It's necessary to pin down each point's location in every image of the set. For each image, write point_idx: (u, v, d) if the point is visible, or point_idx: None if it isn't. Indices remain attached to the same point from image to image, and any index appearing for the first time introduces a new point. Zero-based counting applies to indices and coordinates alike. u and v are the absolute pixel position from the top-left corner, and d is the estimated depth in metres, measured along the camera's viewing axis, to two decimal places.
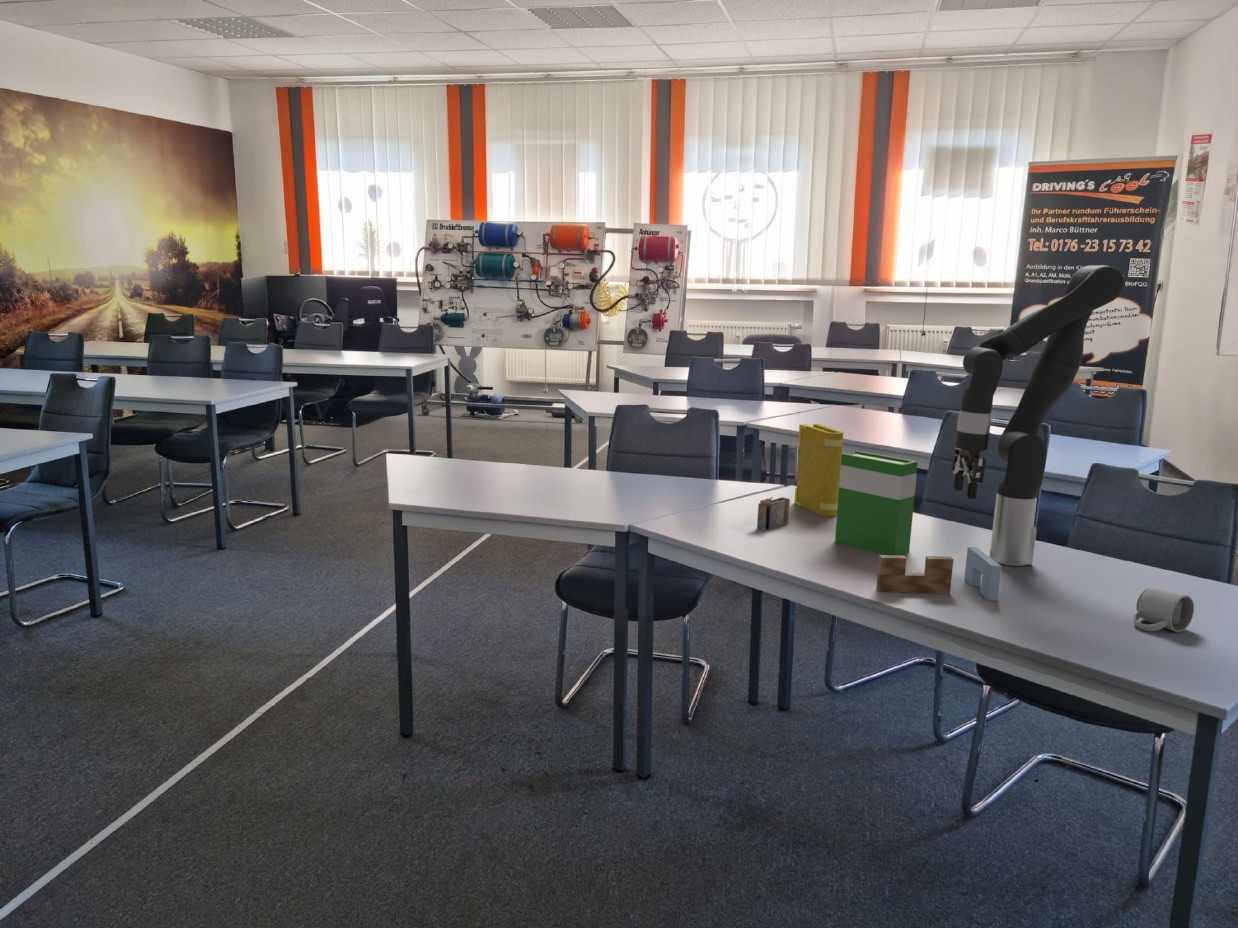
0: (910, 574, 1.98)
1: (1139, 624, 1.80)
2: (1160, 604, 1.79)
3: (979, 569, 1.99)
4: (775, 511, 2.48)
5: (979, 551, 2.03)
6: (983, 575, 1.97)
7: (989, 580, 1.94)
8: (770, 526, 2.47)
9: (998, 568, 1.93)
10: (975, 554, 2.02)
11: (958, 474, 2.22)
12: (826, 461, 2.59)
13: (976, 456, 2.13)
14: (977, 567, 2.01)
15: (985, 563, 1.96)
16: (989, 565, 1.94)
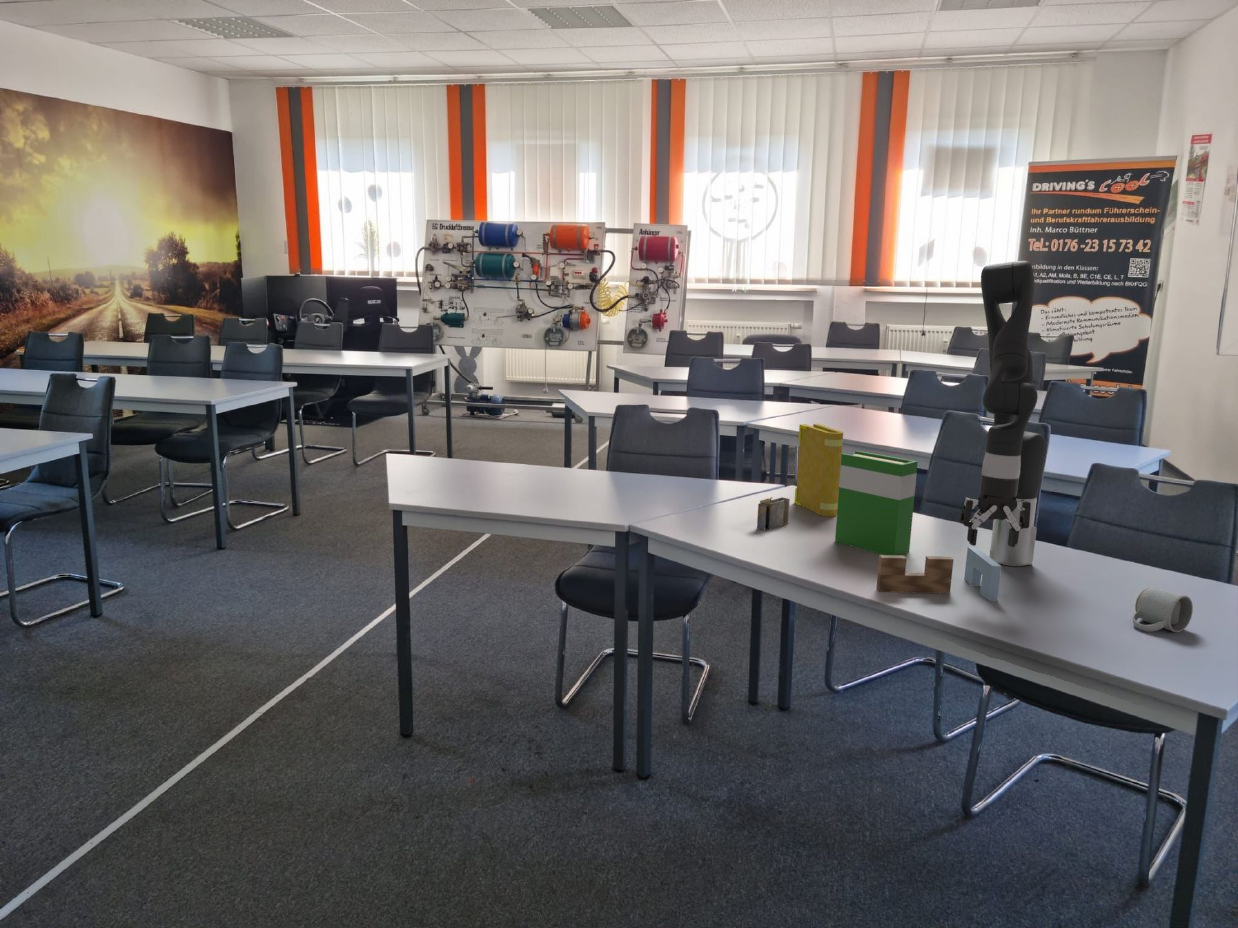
0: (910, 574, 1.98)
1: (1138, 624, 1.79)
2: (1159, 604, 1.79)
3: (979, 569, 1.99)
4: (775, 511, 2.48)
5: (979, 551, 2.03)
6: (983, 575, 1.97)
7: (989, 580, 1.94)
8: (770, 526, 2.47)
9: (998, 568, 1.93)
10: (975, 554, 2.02)
11: None
12: (826, 461, 2.59)
13: None
14: (977, 567, 2.01)
15: (985, 563, 1.96)
16: (989, 565, 1.94)
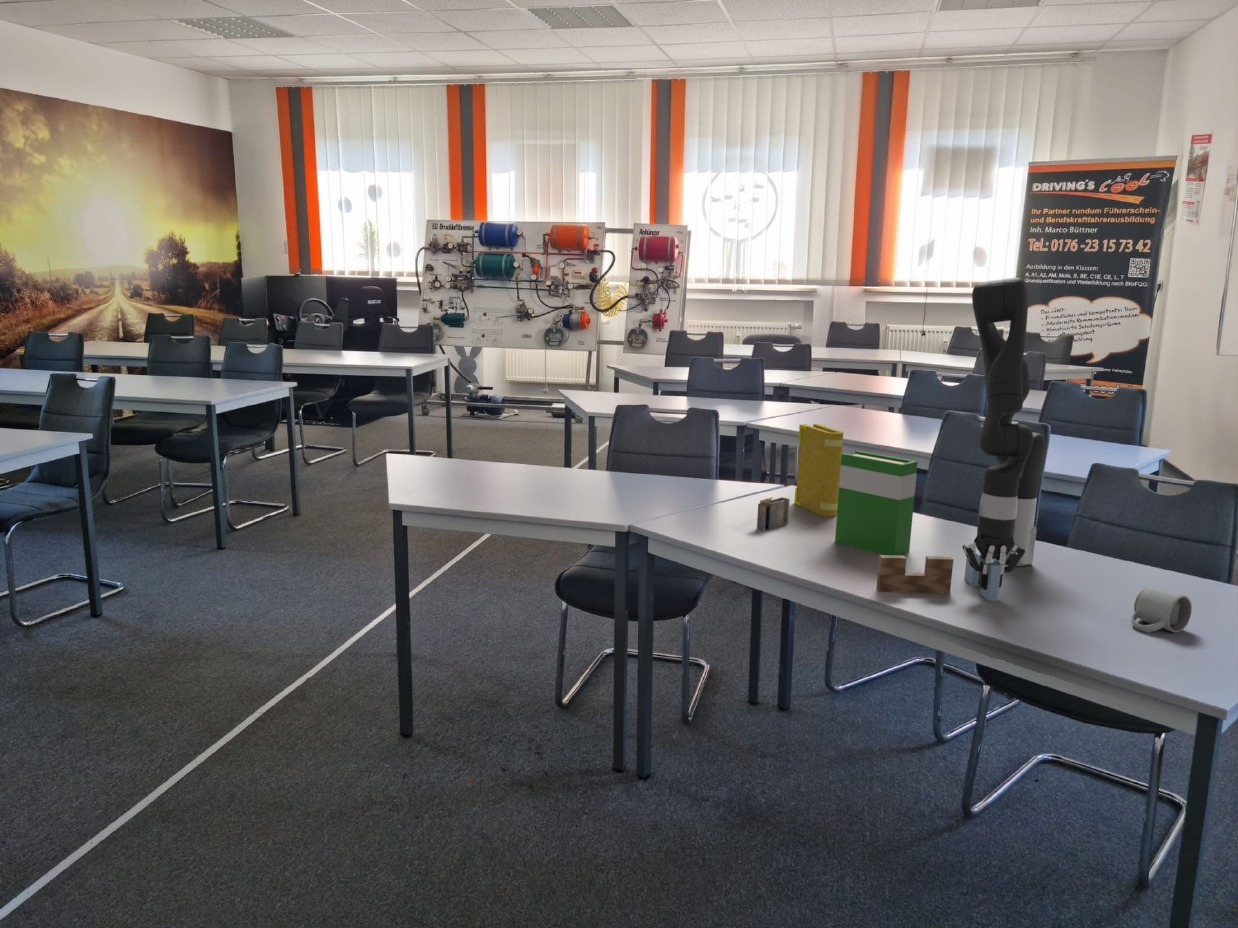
0: (910, 574, 1.98)
1: (1137, 625, 1.79)
2: (1158, 604, 1.79)
3: None
4: (775, 511, 2.48)
5: None
6: None
7: (989, 580, 1.94)
8: (770, 526, 2.47)
9: (998, 568, 1.93)
10: (975, 554, 2.02)
11: None
12: (826, 461, 2.59)
13: None
14: None
15: None
16: (989, 565, 1.94)
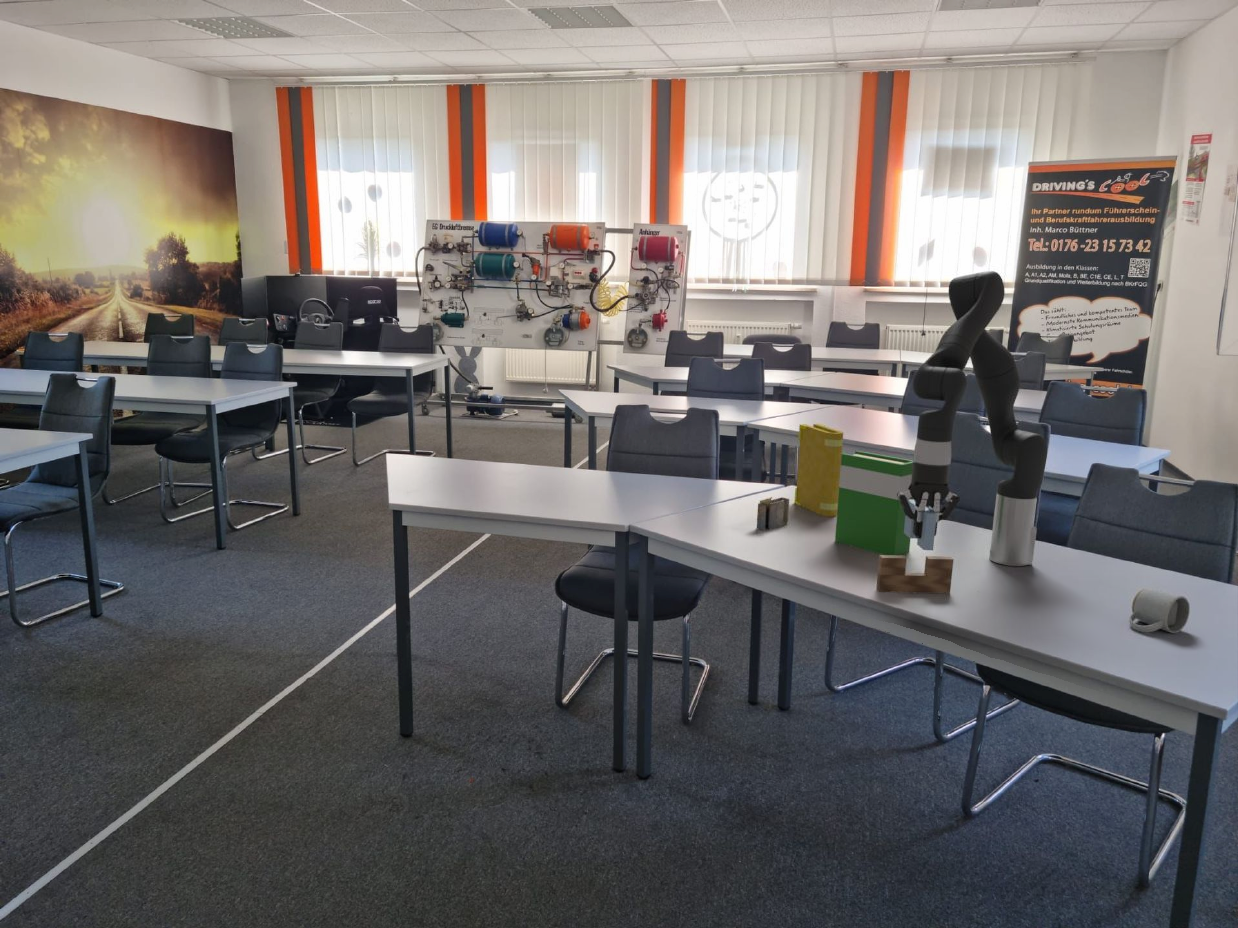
0: (910, 574, 1.98)
1: (1134, 625, 1.79)
2: (1155, 605, 1.78)
3: None
4: (775, 511, 2.48)
5: None
6: None
7: (924, 529, 1.89)
8: (770, 526, 2.47)
9: (933, 516, 1.88)
10: (913, 505, 1.97)
11: None
12: (826, 461, 2.59)
13: None
14: None
15: None
16: (924, 514, 1.90)
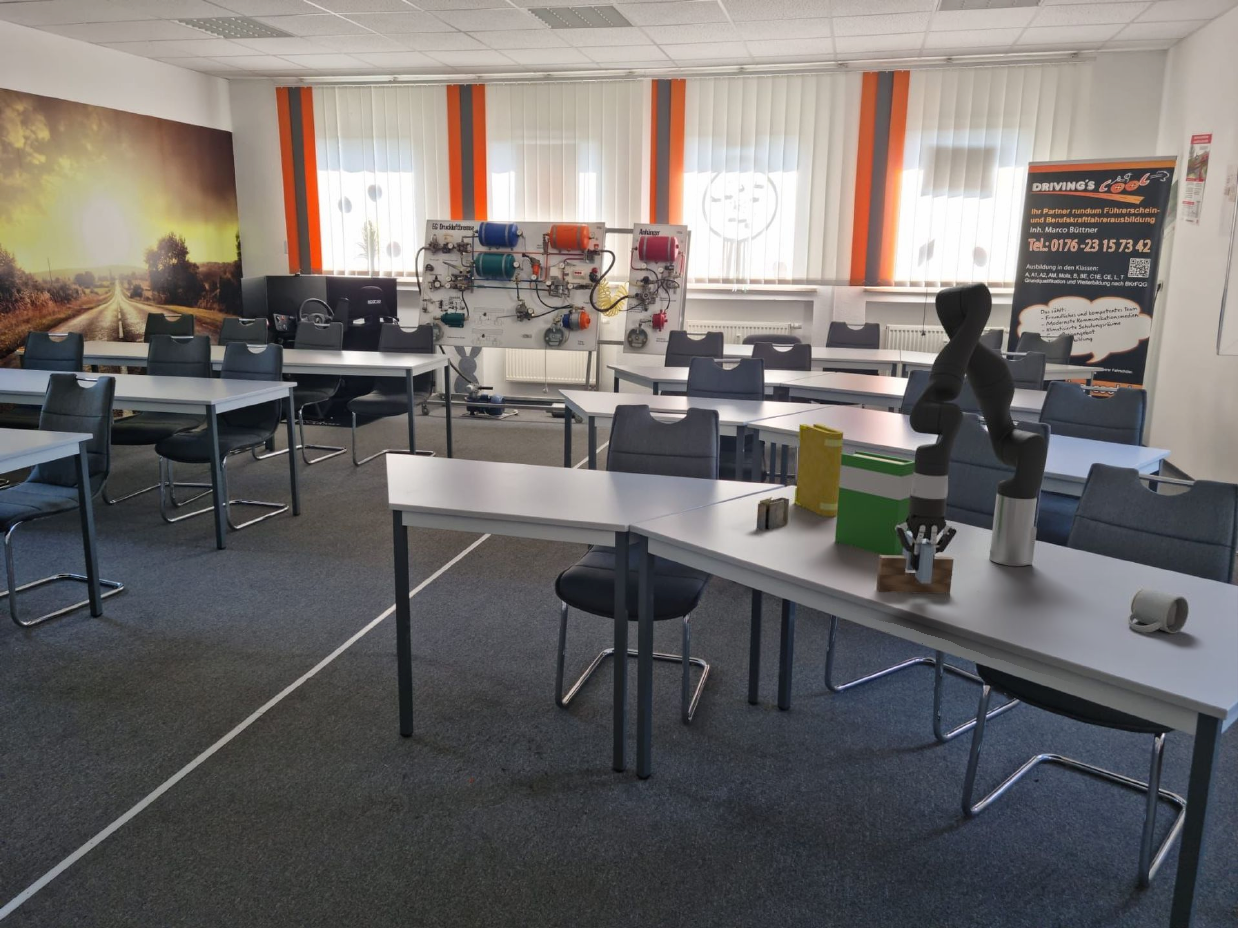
0: (910, 574, 1.98)
1: (1133, 625, 1.79)
2: (1154, 605, 1.78)
3: None
4: (774, 511, 2.48)
5: None
6: None
7: (922, 562, 1.90)
8: (770, 526, 2.47)
9: (931, 550, 1.89)
10: (910, 537, 1.98)
11: None
12: (826, 461, 2.59)
13: None
14: None
15: None
16: (922, 547, 1.91)
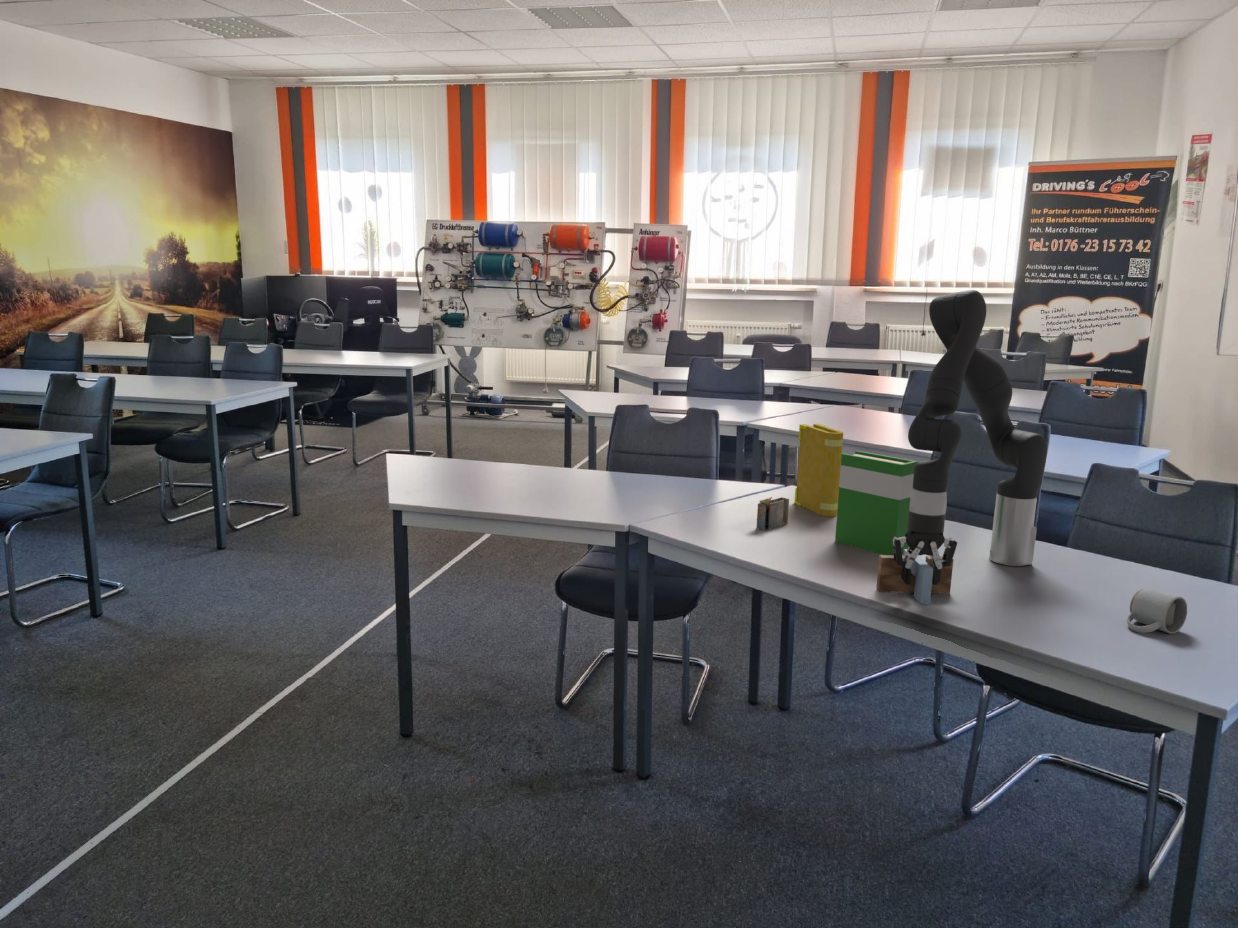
0: None
1: (1132, 626, 1.79)
2: (1153, 605, 1.78)
3: (913, 572, 1.96)
4: (774, 511, 2.48)
5: None
6: (916, 578, 1.94)
7: (921, 583, 1.91)
8: (769, 526, 2.47)
9: (930, 571, 1.90)
10: None
11: None
12: (826, 461, 2.59)
13: None
14: (911, 570, 1.98)
15: (918, 566, 1.93)
16: (921, 568, 1.91)
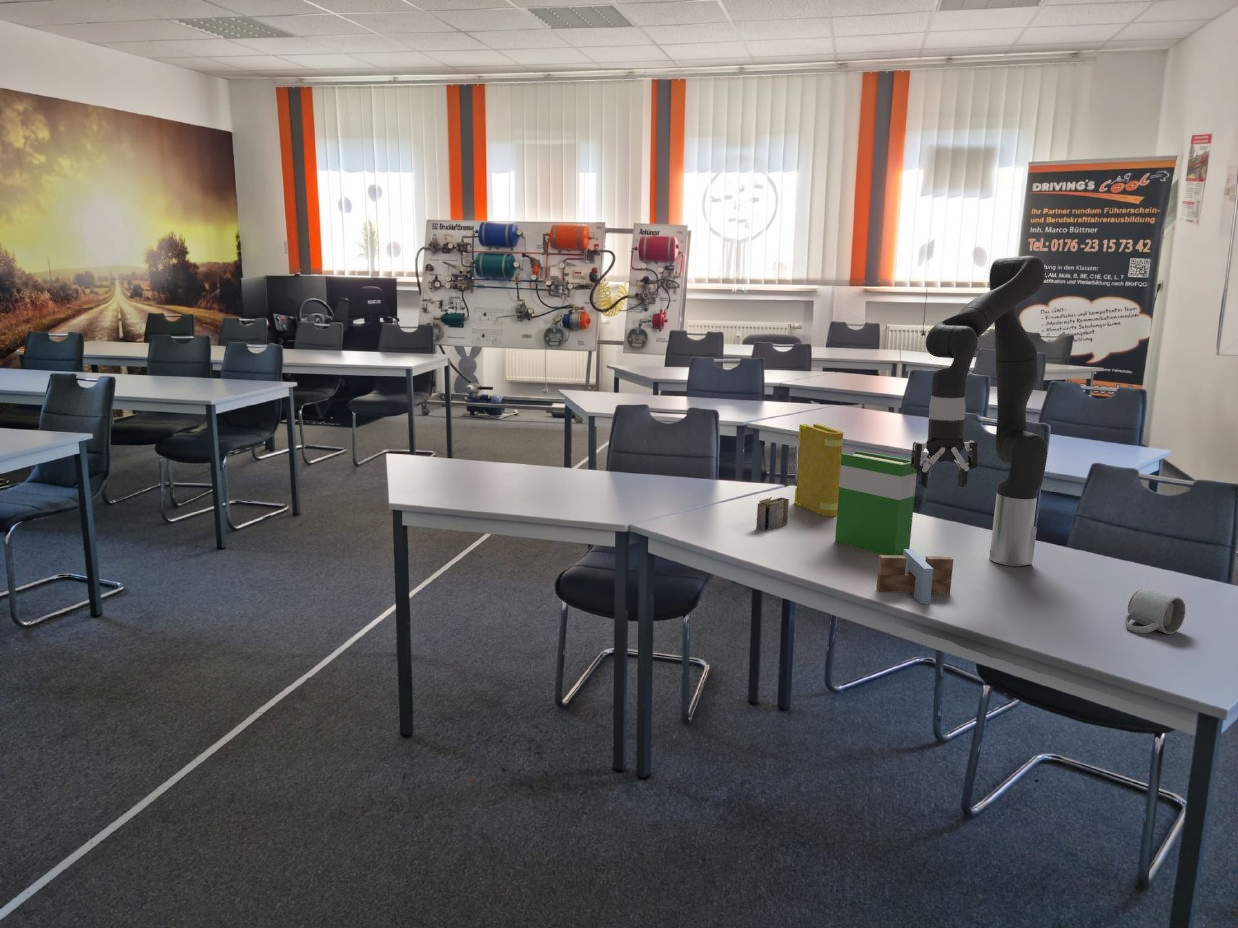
0: (910, 574, 1.98)
1: (1130, 626, 1.78)
2: (1151, 606, 1.78)
3: (913, 572, 1.96)
4: (774, 511, 2.48)
5: (914, 553, 2.00)
6: (916, 578, 1.94)
7: (921, 583, 1.91)
8: (769, 526, 2.47)
9: (930, 571, 1.90)
10: (910, 556, 1.99)
11: None
12: (826, 461, 2.59)
13: None
14: (911, 570, 1.98)
15: (918, 566, 1.93)
16: (921, 568, 1.91)
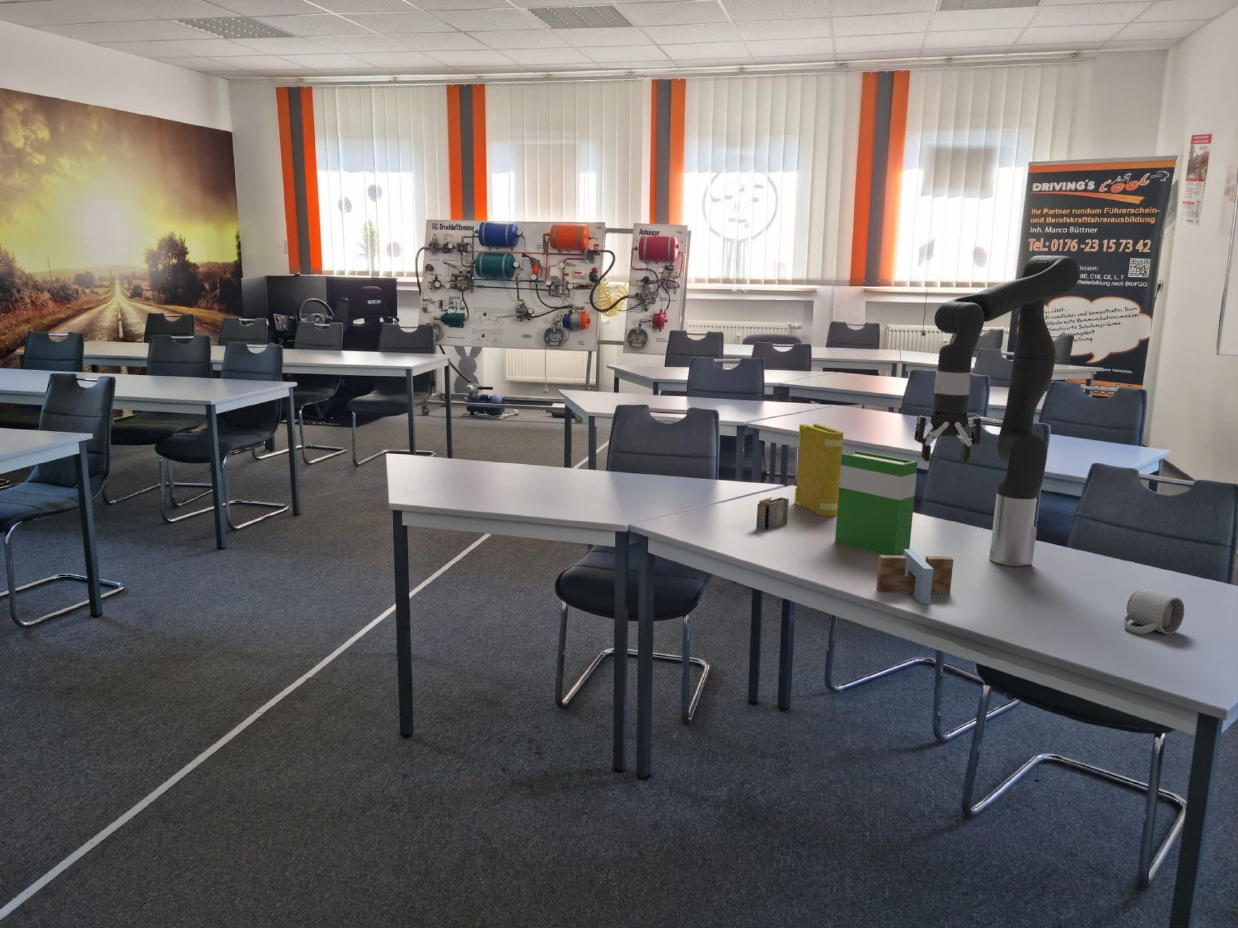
0: (910, 574, 1.98)
1: (1129, 626, 1.78)
2: (1150, 606, 1.78)
3: (913, 572, 1.96)
4: (774, 511, 2.48)
5: (914, 553, 2.00)
6: (916, 578, 1.94)
7: (921, 583, 1.91)
8: (769, 526, 2.47)
9: (930, 571, 1.90)
10: (910, 556, 1.99)
11: None
12: (826, 461, 2.59)
13: None
14: (911, 570, 1.98)
15: (918, 566, 1.93)
16: (921, 568, 1.91)
